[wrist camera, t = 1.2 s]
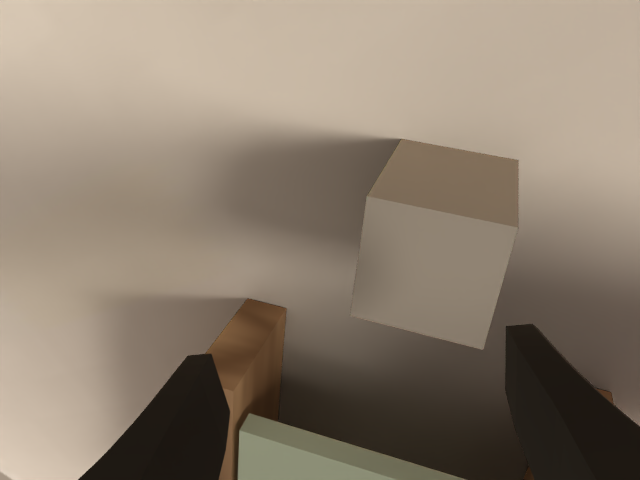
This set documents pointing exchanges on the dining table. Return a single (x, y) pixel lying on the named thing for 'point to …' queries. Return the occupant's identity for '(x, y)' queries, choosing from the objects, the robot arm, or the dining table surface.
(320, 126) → the dining table surface
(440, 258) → the granite block
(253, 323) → the frame
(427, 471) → the trapdoor
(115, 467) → the robot arm
